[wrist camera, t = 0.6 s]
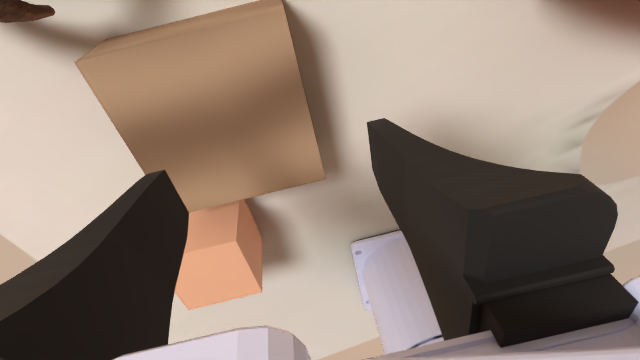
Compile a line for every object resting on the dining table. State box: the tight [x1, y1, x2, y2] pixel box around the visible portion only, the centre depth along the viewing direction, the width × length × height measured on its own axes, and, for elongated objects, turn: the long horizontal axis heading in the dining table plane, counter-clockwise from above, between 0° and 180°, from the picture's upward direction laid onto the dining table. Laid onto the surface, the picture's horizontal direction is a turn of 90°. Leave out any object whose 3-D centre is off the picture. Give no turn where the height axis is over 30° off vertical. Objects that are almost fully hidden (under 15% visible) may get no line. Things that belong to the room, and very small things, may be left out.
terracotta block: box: [174, 199, 262, 310], centre depth 23 cm, size 5×5×5 cm
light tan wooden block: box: [74, 0, 326, 213], centre depth 19 cm, size 9×9×4 cm
